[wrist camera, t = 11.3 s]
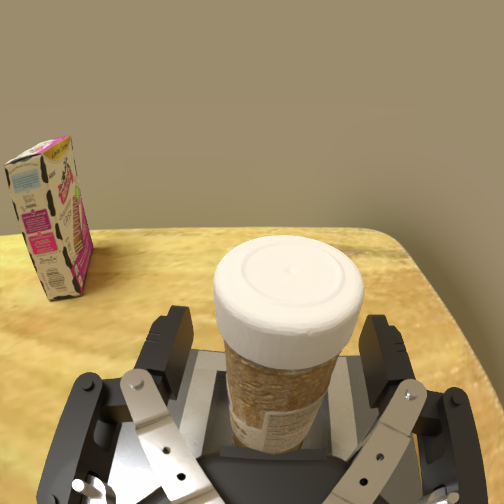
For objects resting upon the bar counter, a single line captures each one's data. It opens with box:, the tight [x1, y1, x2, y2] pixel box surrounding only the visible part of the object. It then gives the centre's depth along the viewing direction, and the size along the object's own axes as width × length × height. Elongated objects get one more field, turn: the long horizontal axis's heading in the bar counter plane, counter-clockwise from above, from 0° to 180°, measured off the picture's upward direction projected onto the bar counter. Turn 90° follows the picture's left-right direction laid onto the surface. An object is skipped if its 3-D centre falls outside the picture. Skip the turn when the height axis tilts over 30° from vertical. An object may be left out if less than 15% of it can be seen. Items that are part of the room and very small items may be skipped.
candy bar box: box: [4, 135, 93, 300], centre depth 28 cm, size 11×5×16 cm, turn 18°
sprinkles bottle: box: [213, 235, 364, 455], centre depth 12 cm, size 5×5×14 cm
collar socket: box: [108, 349, 422, 504], centre depth 16 cm, size 20×14×4 cm
